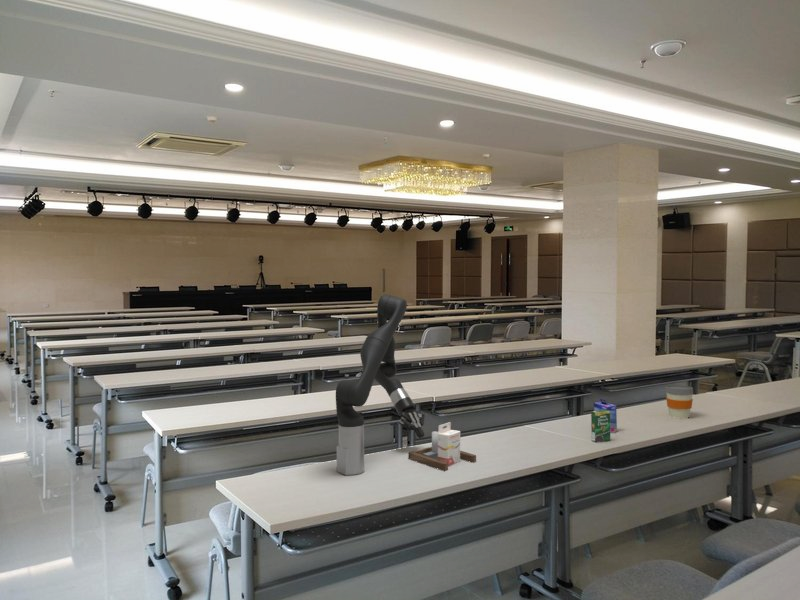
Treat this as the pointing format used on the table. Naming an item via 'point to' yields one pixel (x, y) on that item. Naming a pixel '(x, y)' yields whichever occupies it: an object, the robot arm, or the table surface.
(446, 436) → the ink cartridge box
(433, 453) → the grey block with knob
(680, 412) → the reusable coffee cup
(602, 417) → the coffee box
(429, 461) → the brown wooden frame
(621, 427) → the table surface
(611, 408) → the ink cartridge box
